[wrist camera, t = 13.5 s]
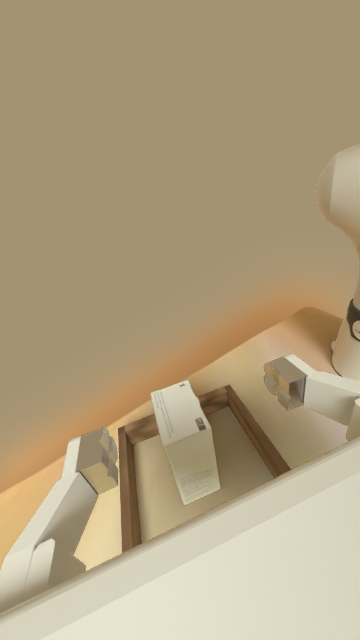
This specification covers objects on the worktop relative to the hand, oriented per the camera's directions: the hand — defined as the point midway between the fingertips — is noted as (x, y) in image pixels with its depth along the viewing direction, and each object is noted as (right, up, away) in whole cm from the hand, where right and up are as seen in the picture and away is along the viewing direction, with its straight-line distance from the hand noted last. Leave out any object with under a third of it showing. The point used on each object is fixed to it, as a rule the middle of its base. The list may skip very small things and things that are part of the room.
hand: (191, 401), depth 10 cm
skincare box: (+2, -20, +23) cm, 30 cm away
